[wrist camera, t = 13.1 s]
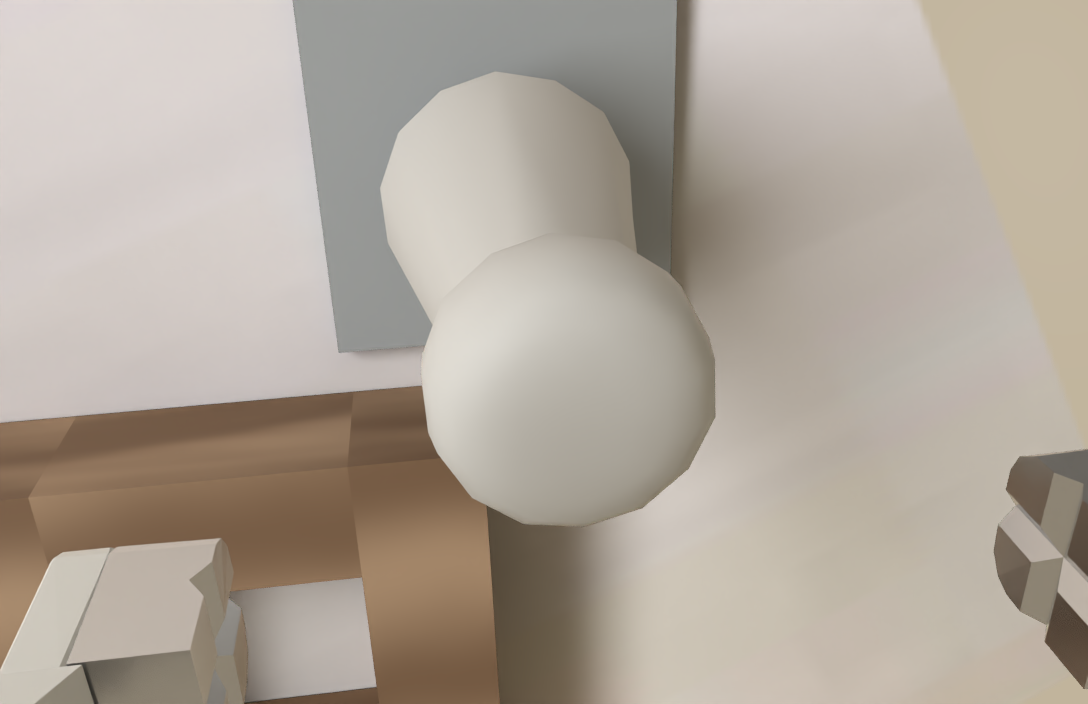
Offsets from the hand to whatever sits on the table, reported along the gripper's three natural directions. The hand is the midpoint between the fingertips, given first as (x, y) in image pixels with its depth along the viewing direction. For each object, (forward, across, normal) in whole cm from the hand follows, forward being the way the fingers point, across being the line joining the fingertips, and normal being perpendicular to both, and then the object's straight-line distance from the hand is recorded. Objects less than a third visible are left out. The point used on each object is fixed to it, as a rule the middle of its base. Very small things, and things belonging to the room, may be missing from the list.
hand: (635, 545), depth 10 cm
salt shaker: (+17, 0, +1) cm, 17 cm away
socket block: (+17, +8, +14) cm, 23 cm away
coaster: (+17, 0, +1) cm, 17 cm away
